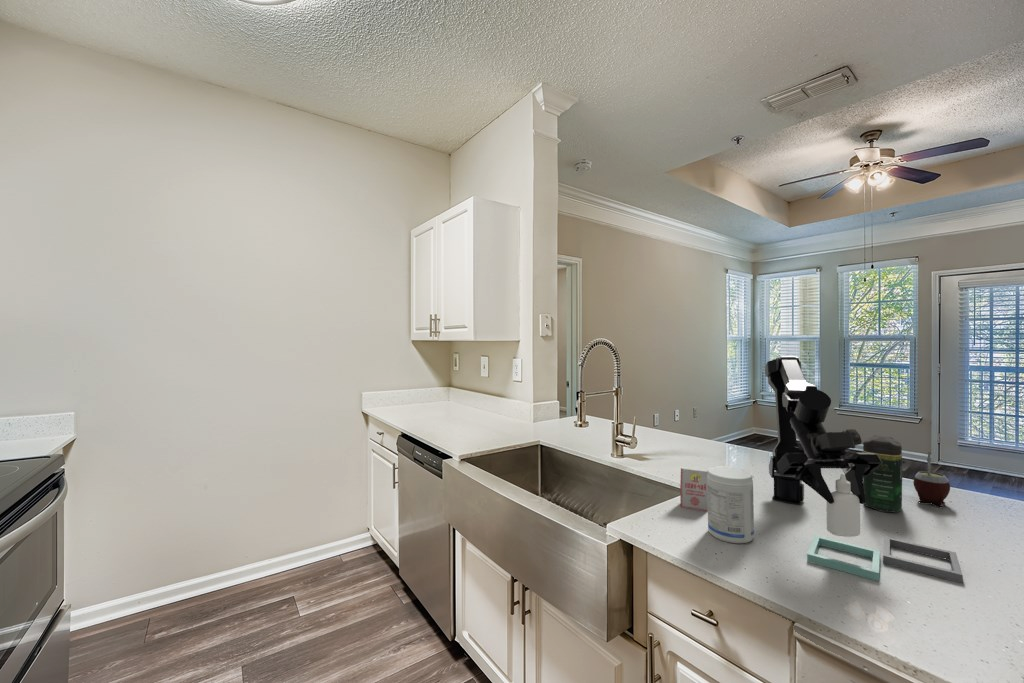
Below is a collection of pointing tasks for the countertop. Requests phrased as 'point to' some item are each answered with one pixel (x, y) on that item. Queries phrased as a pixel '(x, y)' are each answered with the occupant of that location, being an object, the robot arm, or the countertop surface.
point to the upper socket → (921, 567)
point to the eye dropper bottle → (843, 510)
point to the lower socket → (842, 565)
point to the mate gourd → (931, 486)
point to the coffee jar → (884, 475)
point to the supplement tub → (730, 504)
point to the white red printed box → (693, 489)
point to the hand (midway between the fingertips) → (847, 503)
